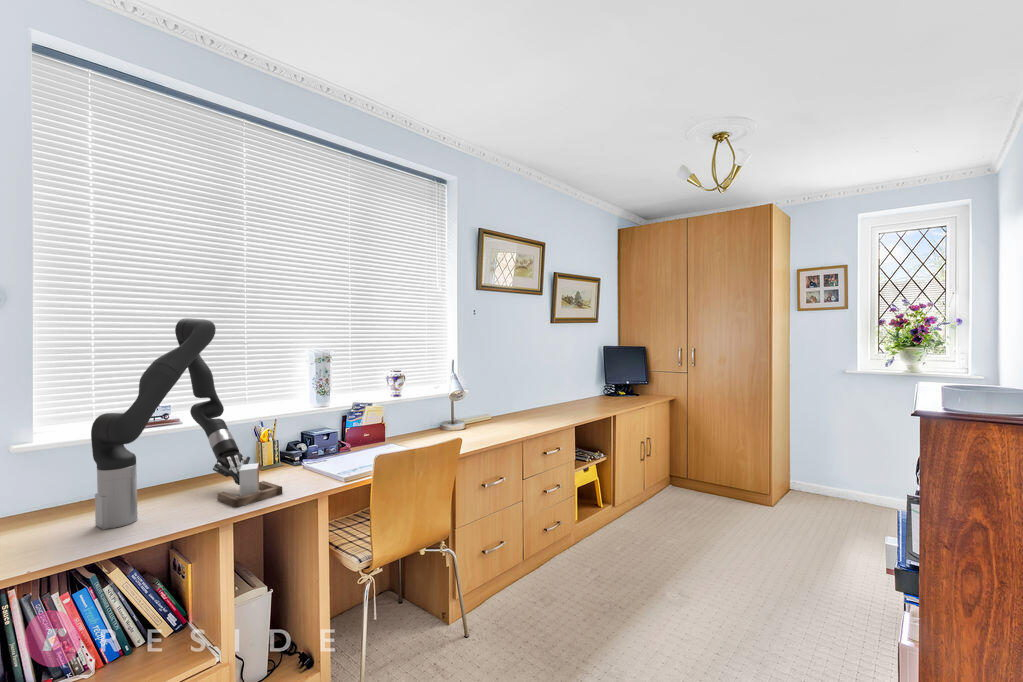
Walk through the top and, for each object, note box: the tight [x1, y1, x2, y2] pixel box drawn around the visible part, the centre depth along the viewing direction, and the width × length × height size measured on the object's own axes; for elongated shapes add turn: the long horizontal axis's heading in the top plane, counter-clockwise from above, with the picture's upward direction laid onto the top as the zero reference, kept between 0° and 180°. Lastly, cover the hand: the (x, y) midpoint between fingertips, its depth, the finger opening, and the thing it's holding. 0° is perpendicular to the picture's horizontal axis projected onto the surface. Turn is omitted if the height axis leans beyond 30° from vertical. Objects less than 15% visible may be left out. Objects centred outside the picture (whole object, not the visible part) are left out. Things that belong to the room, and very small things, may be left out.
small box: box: [239, 462, 260, 497], centre depth 168 cm, size 8×6×10 cm
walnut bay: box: [217, 480, 283, 508], centre depth 168 cm, size 16×12×2 cm
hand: (241, 483), depth 171 cm, fingers closed
